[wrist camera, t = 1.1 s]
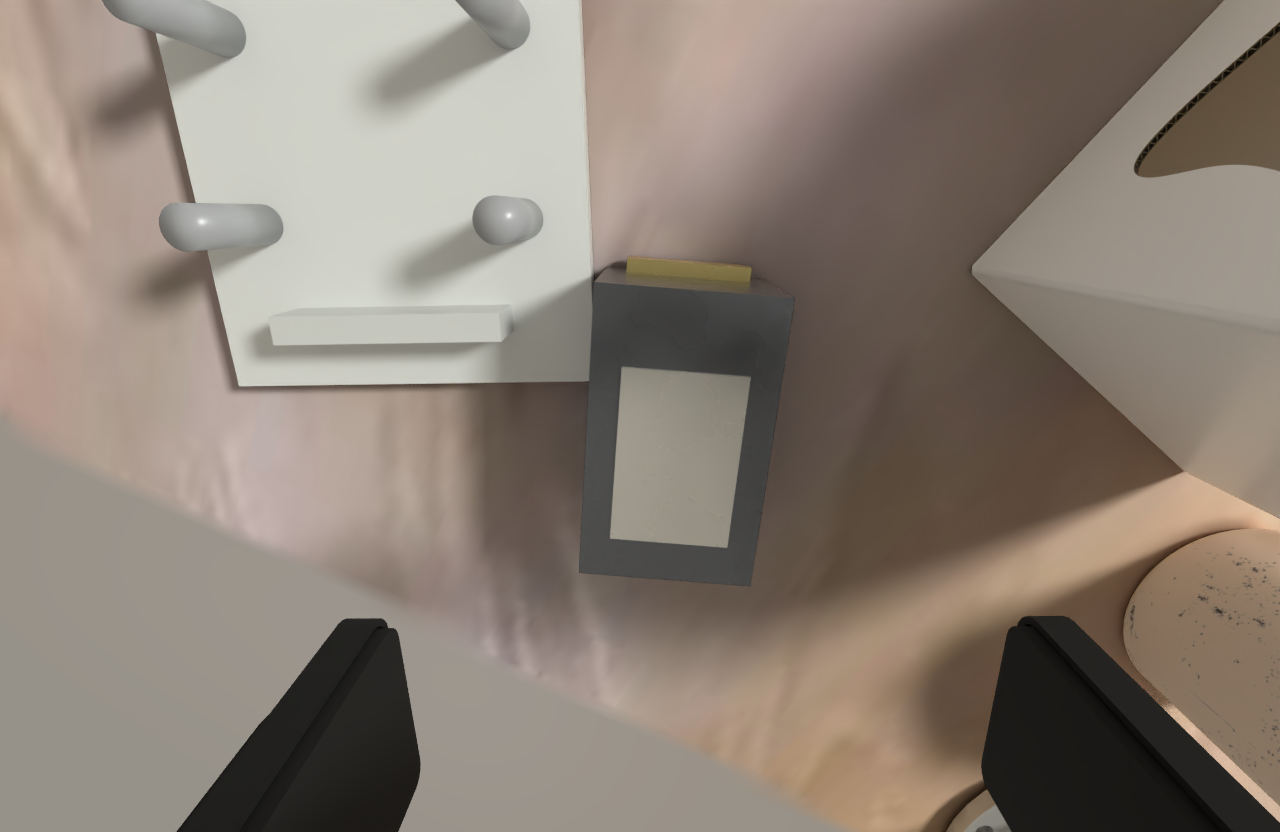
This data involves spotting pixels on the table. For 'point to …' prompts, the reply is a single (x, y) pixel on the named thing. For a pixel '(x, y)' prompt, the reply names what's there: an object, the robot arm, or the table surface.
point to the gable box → (1172, 256)
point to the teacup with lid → (1217, 643)
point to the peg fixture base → (385, 184)
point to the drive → (680, 419)
